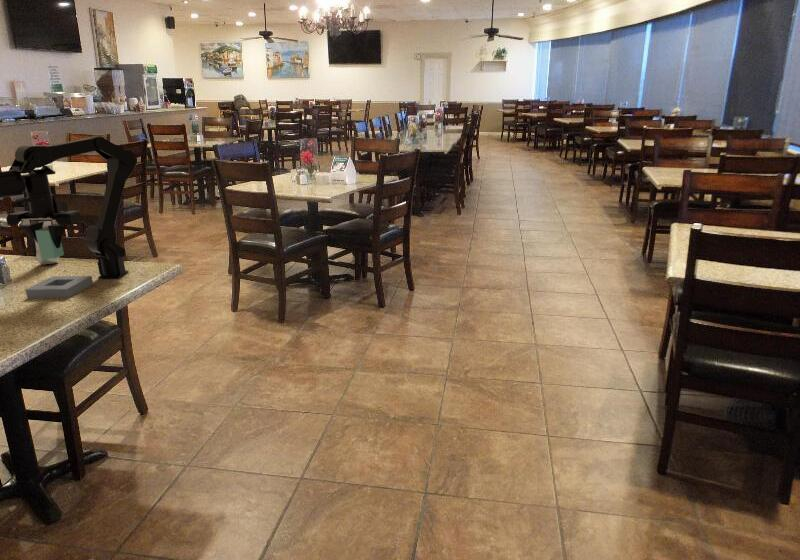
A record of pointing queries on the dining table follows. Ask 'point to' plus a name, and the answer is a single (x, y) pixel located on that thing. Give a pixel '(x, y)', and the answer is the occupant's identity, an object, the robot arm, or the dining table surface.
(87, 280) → the plate
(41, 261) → the plastic bottle
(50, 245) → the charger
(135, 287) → the dining table surface
